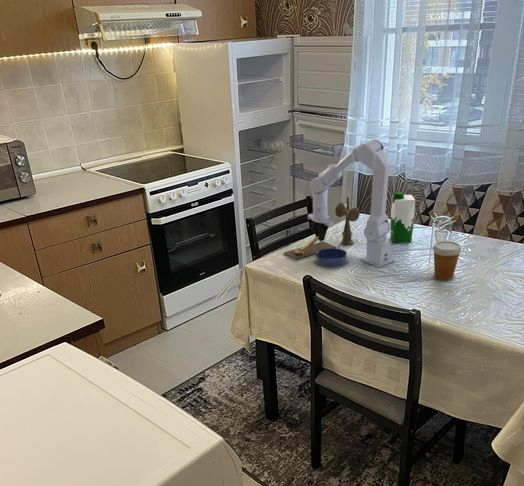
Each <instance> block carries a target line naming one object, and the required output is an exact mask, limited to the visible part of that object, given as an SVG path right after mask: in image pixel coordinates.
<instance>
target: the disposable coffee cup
mask: <svg viewBox="0 0 524 486" xmlns="http://www.w3.org/2000/svg"><path fill="white" fill-rule="evenodd" d="M432 250H433V268H434V269H433V271H434V272H433V273H434V278H435V279H436V280H438V281H443V282H446V281H451V280H453V278H454V275H455V271H456V267H457V264H458V260H459V257H460V254H461V252H462V247H461V244H460V243H458V242H456V241H449V240H443V241H438V242H436V243H434V246H432Z"/></svg>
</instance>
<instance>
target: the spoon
mask: <svg viewBox="0 0 524 486" xmlns="http://www.w3.org/2000/svg"><path fill="white" fill-rule="evenodd" d="M318 241H319V235H318V236H317V237H316V236H315V237H314V238H313V239H311V240H310V241H309V242H308V243H306V244H305V245H304V246H301V247H302V248H301V247H300V248H301V249H300V250H295V254H303V251H305V250H306V249H307V248H308V247H310V246H311V245H312V244H315V243H317V242H318Z"/></svg>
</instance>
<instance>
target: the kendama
mask: <svg viewBox="0 0 524 486" xmlns="http://www.w3.org/2000/svg"><path fill="white" fill-rule="evenodd" d="M334 211H335V212H334V213H335V215H336V217H338V218H343V217H345V221H344V227H343V231H342V232H341V235H342V239H341V241H340V244H341V245H342V246H350V245H351V246H352V245H353V244H354V241H353V239H352V235H353V234H354V233H353V232H352V230H351V223H352V222H353V223H354V222H356V221H358V219H359V218H360V216H361V215H360V214H361V212H360V209H359V207H352V208H350V197H349V196H347V197H346V202H339V203H337V205H336V206H335V210H334ZM350 222H351V223H350Z"/></svg>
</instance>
